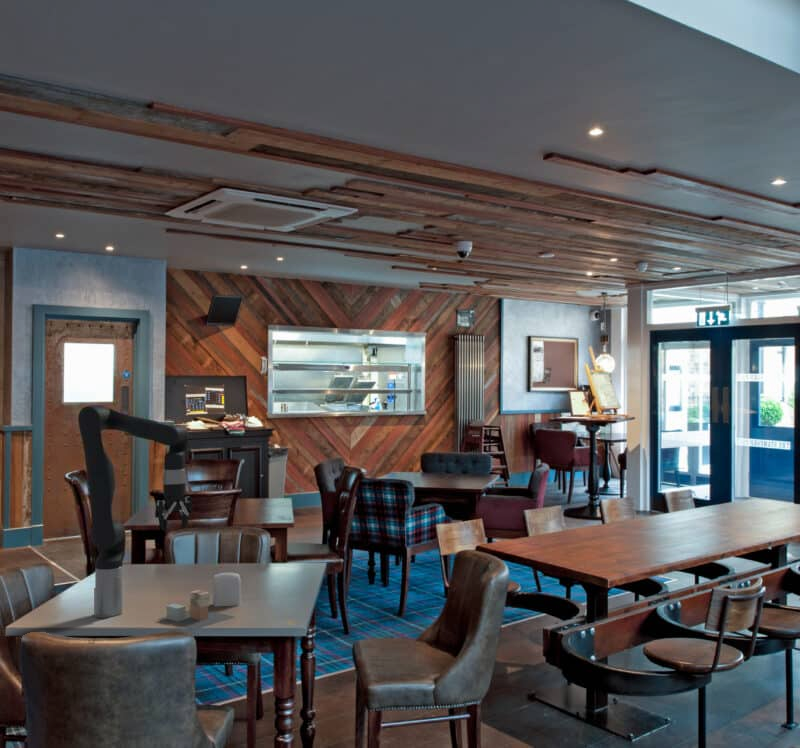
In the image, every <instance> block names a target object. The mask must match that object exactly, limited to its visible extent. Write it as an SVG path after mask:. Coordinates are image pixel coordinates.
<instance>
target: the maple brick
mask: <svg viewBox="0 0 800 748" xmlns="http://www.w3.org/2000/svg"><path fill="white" fill-rule="evenodd" d="M189 593H190V596H189V597H190V599H189V600H190V601H189V602H190V604H189V605H193V606H197V607H201V608H202V607H206V606H208V607H209V606H210V592H208V591H204V590H199V589H197V590H194V591H190V592H189Z"/></svg>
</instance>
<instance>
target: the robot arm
mask: <svg viewBox="0 0 800 748" xmlns="http://www.w3.org/2000/svg"><path fill="white" fill-rule="evenodd" d="M77 420H78V421H77V422H78V429H79V432H80V437H81V441H82V442H81V443H82V446H83V452H84V459H85V469H86V479H87V487H88V492H89V493H88V495H89V504H90V512H91V513H90V515H91V540H92V543H93V545H94V546H95V547H96V548H97V549H99V553H98V556H97V557H96V559H95V565H94V567H95V576H94V578H95V583H94V584H95V587H94V589H93V614H94V617H96V618H98V619H110V618H111V619H112V618H114V617H118V616H122V615H123V606H124V605H123V602H124V600H123V599H124V598H123V596H124V595H123V592H124V591H123V589H124V587H123V584H124V583H123V578H124V576H123V575H124V573H123V572H124V571H123V567H124V565H123V564H124V559H125V555H126V529H125V527H124V525H123V524H122V523H121V522H120V521H118V520H114V519H113V511H112V508H113V507H112V506H113V500H114V495H115V490H116V477H115V469H114V464H113V461H112V460H111V458H110V455H109V454H108V453H107V451H106V449H105V447H104V443H103V440H102V431H103V430H104V431H105V430H109V431H121V432H123V433H126V434H128V435H130V436H132V437H135V438H139V439H143V440H148V441H153V442H156V443H158V444H161V445H165V446H169V449H168V451H167V453H165V454H164V459H163V478H162V479H163V480H162V481H163V490H162V491H163V497H164V498H163V500H158V499H157V500H156V501H155V513H154V518H156V519H157V518H158V519H159V520H160V530H162V531H167V530H168V519H167V518H168V517H169V515H171V513H172V512H176V511H177V512H178V511H179V513H180V514H181V527H184V528H186V527H188V523H189V515H191V514H193V513H194V506H193V496H189V495H186V492H187V491H186V489H187V488H186V463H185V462H186V459H185V458H186V457H185V456H186V453H187V448H188V445H189V444H188V443H189V432H188V429H187V428H186V427H185V426H184V425H182V424H174V425H173V424H172V425H171V424H163V423H161V422H160V421H157V420H154V419H148V418H143V417H140V416H139V417H138V416H133V415H129V414H125V413H121V412H119V411H116V410H114V409H112V408H109V407H107V406H104V405H99V404H97V405H88V406H87V405H86V406H84V407H82V408H81V410H80V411H79V413H78V417H77ZM185 495H186V496H185Z"/></svg>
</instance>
